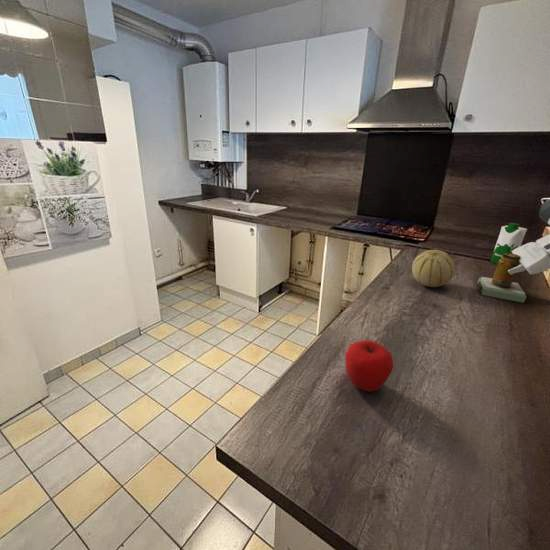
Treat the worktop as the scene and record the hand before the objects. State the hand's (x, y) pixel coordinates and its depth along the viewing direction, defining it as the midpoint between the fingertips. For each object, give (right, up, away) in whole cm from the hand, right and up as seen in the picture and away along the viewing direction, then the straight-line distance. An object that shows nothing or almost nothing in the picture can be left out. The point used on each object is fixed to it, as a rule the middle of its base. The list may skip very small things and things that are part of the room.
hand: (506, 269), depth 109 cm
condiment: (0, -6, +2) cm, 7 cm away
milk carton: (+26, +4, +36) cm, 44 cm away
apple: (-67, -27, -43) cm, 84 cm away
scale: (0, -9, +4) cm, 10 cm away
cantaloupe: (-25, -7, +8) cm, 27 cm away
